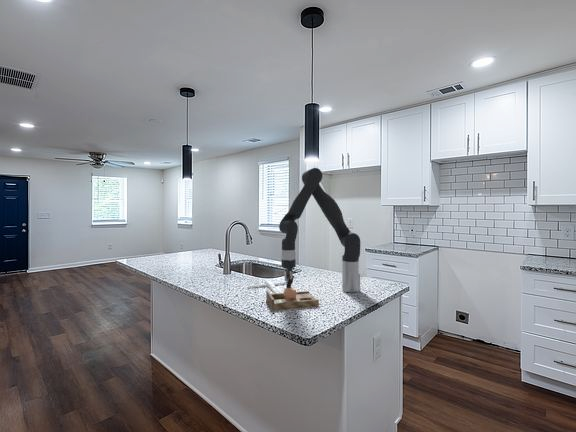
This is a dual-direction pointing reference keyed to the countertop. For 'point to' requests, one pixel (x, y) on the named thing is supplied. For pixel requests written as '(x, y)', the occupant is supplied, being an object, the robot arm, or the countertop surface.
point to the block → (290, 293)
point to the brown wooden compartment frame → (291, 300)
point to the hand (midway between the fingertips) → (288, 290)
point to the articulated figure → (270, 285)
